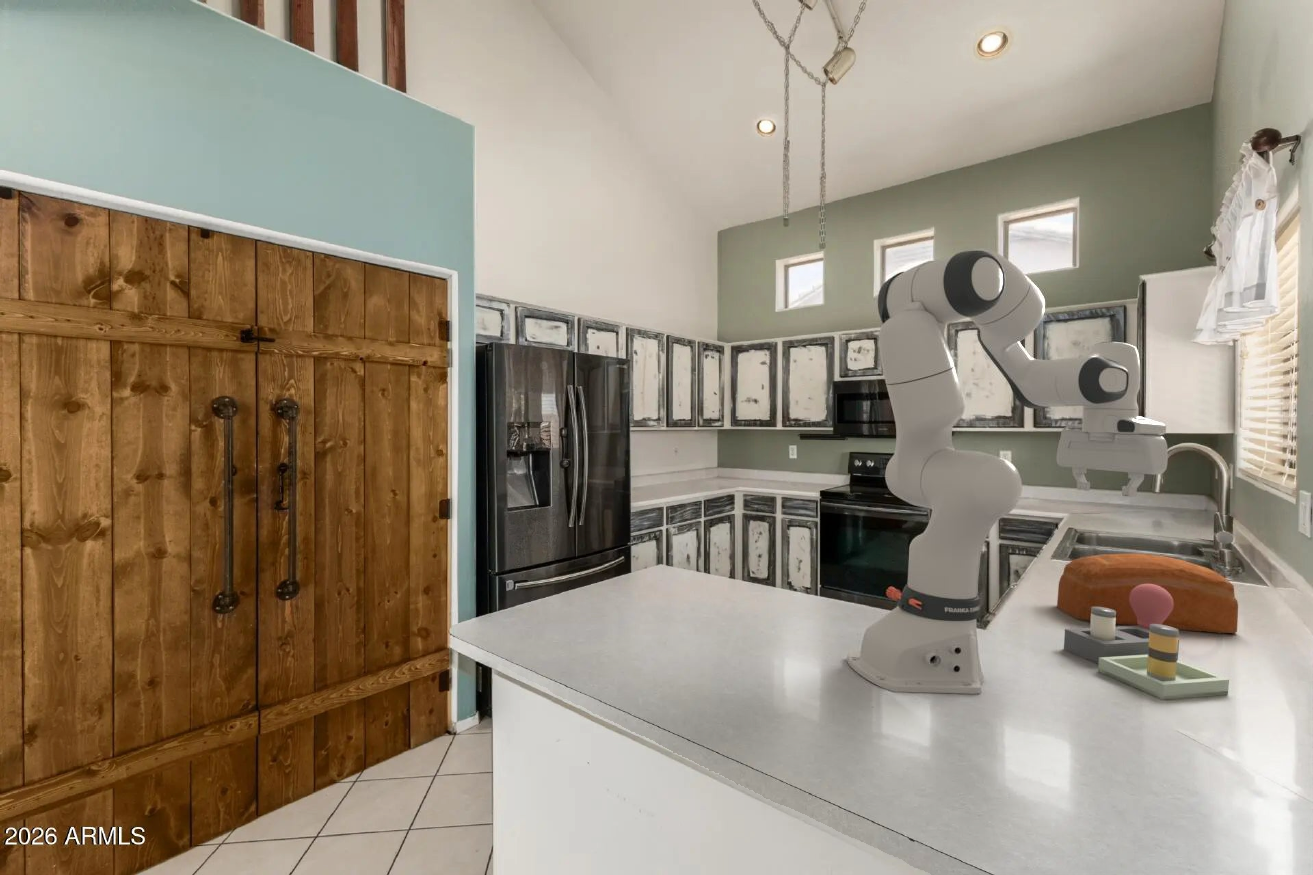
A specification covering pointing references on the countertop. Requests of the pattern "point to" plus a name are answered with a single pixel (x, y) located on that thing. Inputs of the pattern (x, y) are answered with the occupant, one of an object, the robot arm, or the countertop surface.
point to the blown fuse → (1162, 652)
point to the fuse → (1103, 623)
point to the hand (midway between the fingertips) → (1105, 493)
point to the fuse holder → (1108, 643)
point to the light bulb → (1150, 604)
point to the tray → (1185, 686)
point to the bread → (1114, 576)
